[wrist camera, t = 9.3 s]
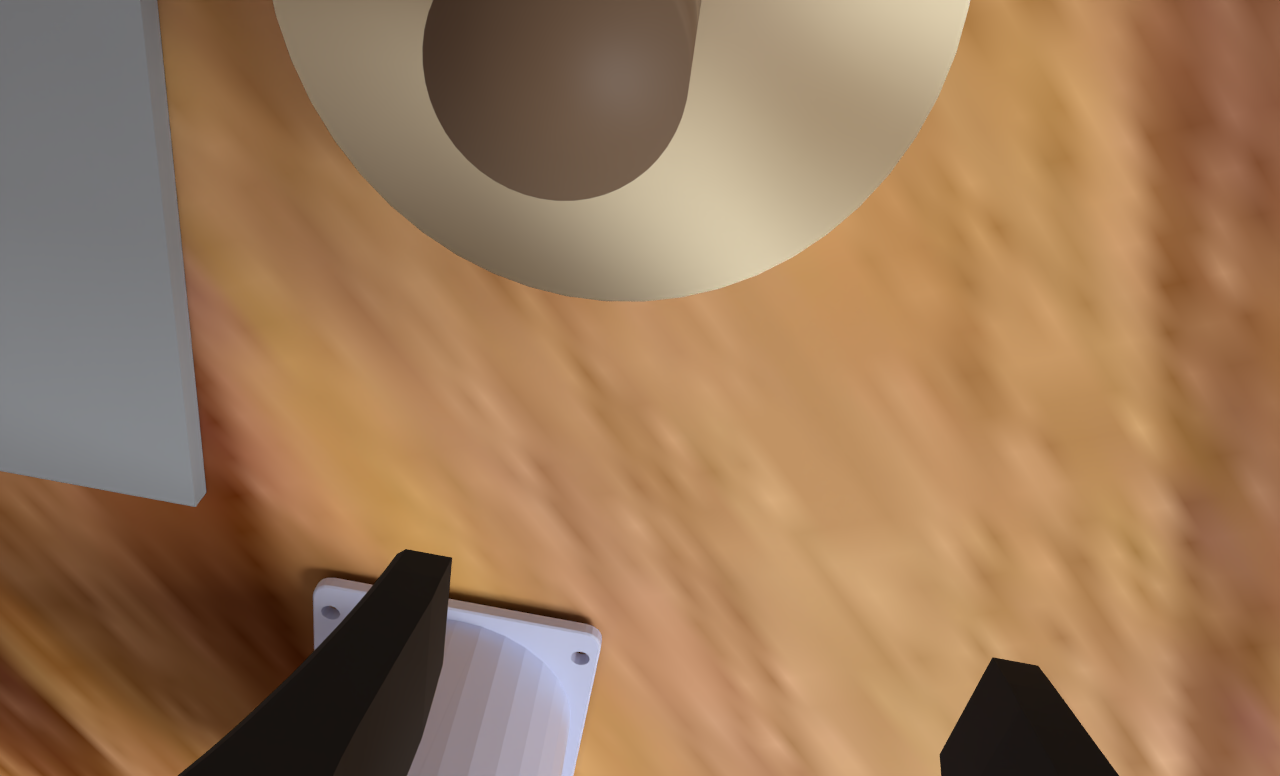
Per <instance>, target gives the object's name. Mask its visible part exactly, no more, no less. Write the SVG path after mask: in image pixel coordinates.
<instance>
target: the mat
mask: <svg viewBox="0 0 1280 776" xmlns="http://www.w3.org/2000/svg"><path fill="white" fill-rule="evenodd" d="M0 471H4V472H9V473H14V474H20V475H25V476H31V477H36V478H41V479H47V480H52V481H58V482H63V483H69V484H74V485H79V486H85V487H90V488H96V489H101V490H107V491H112V492H117V493H123V494H128V495H134V496H139V497H144V498H150V499H155V500H161V501H166V502H172V503H177V504H182V505H188V506H193V507H196V506H197V504H198V503H199V502H200V500H201V499H202V498H203V496H204V495H205V494H206V483H205V473H204V463H203V453H202V443H201V433H200V423H199V413H198V403H197V393H196V383H195V373H194V363H193V353H192V343H191V333H190V323H189V313H188V303H187V293H186V283H185V273H184V263H183V253H182V243H181V233H180V223H179V213H178V203H177V193H176V183H175V173H174V163H173V153H172V143H171V133H170V123H169V113H168V103H167V93H166V83H165V73H164V63H163V53H162V43H161V33H160V23H159V13H158V3H157V0H0Z"/></svg>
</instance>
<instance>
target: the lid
mask: <svg viewBox="0 0 1280 776" xmlns="http://www.w3.org/2000/svg"><path fill="white" fill-rule="evenodd" d="M969 4H970V0H273V5H274V9H275V14H276V17H277V20H278V23H279V26H280V29H281V31H282V34H283V37H284V40H285V43H286V46H287V49H288V52H289V55H290V58H291V60H292V63H293V65H294V67H295V69H296V71H297V73H298V75H299V77H300V80H301V82H302V84H303V86H304V88H305V90H306V92H307V95H308V97H309V99H310V101H311V103H312V104H313V106H314V108H315V109H316V111H317V113H318V114H319V116H320V117H321V119H322V121H323V122H324V124H325V126H326V127H327V129H328V131H329V132H330V134H331V135H332V137H333V139H334V140H335V142H336V143H337V144H338V145H339V147H340V148H341V149H342V151H343V152H344V153H345V155H346V156H347V157H348V158H349V160H350V161H351V162H352V164H353V165H354V166H355V168H356V169H357V170H358V171H359V173H360V174H361V175H362V176H363V177H364V178H365V179H366V180H367V181H368V182H369V184H370V185H371V186H372V187H373V188H374V189H375V190H376V191H377V192H378V193H379V194H380V195H381V196H382V197H383V198H384V199H385V200H386V201H387V202H388V203H389V204H390V205H391V206H392V207H393V208H394V209H395V210H397V211H398V212H399V213H400V214H401V215H403V216H404V217H405V218H406V219H407V220H409V221H410V222H411V223H412V224H413V225H415V226H416V227H417V228H418V229H419V230H421V231H422V232H423V233H425V234H426V235H428V236H429V237H431V238H432V239H434V240H435V241H437V242H438V243H440V244H441V245H443V246H444V247H446V248H447V249H449V250H450V251H452V252H453V253H455V254H456V255H458V256H460V257H462V258H464V259H466V260H468V261H470V262H472V263H474V264H476V265H478V266H480V267H482V268H484V269H486V270H488V271H490V272H491V273H494V274H497V275H499V276H502V277H505V278H507V279H510V280H513V281H515V282H518V283H521V284H523V285H526V286H529V287H532V288H536V289H540V290H544V291H548V292H552V293H556V294H560V295H564V296H570V297H578V298H586V299H593V300H601V301H652V300H661V299H671V298H680V297H685V296H690V295H694V294H698V293H703V292H707V291H711V290H716V289H720V288H723V287H725V286H728V285H731V284H734V283H737V282H739V281H742V280H745V279H748V278H750V277H753V276H756V275H758V274H760V273H762V272H764V271H766V270H768V269H770V268H772V267H774V266H776V265H778V264H780V263H782V262H784V261H786V260H788V259H790V258H792V257H794V256H795V255H797V254H798V253H800V252H801V251H803V250H804V249H806V248H807V247H809V246H810V245H812V244H813V243H815V242H816V241H818V240H819V239H821V238H822V237H824V236H825V235H827V234H828V233H829V232H830V231H832V230H833V229H834V228H835V227H836V226H837V225H839V224H840V223H841V222H842V221H843V220H845V219H846V218H847V217H848V216H849V215H850V214H852V213H853V212H854V211H855V210H856V209H857V208H859V207H860V206H861V205H862V203H863V202H864V201H865V200H866V199H867V198H868V197H869V196H870V195H871V194H872V193H873V192H874V190H875V189H876V188H877V187H878V186H879V185H880V184H881V183H882V182H883V181H884V180H885V178H886V177H887V176H888V175H889V174H890V173H891V171H892V170H893V168H894V167H895V166H896V164H897V163H898V162H899V160H900V159H901V157H902V156H903V155H904V153H905V152H906V150H907V149H908V148H909V146H910V145H911V144H912V142H913V141H914V139H915V138H916V136H917V134H918V133H919V131H920V129H921V127H922V125H923V124H924V122H925V120H926V118H927V116H928V114H929V113H930V111H931V109H932V107H933V105H934V104H935V102H936V100H937V98H938V96H939V94H940V91H941V89H942V86H943V84H944V81H945V79H946V77H947V74H948V72H949V69H950V67H951V64H952V62H953V59H954V57H955V54H956V52H957V48H958V44H959V41H960V37H961V33H962V30H963V26H964V22H965V19H966V15H967V12H968V8H969Z"/></svg>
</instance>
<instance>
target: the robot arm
mask: <svg viewBox="0 0 1280 776" xmlns="http://www.w3.org/2000/svg"><path fill="white" fill-rule="evenodd" d="M451 564H452V558H451V557H445V556H440V555H434V554H429V553H424V552H418V551H413V550H407V549H406V550H404V551H402V552H400V553H398V554H397V555H396V556H395V558H394V559H393V560H392V562H391V563H390V564H389V566H388V567H387V568H386V570H385V571H384V572H383V573H382V575H381V576H380V577H379V578H378V580H377V581H376V582H375V583H374V585H372V584H366V583H361V582H355V581H350V580H344V579H339V578H325V579H322V580H321V581H320V582H319V583H318V584H317V586H316V588H315V590H314V593H313V619H314V651H313V653H312V654H311V655H310V656H309V657H308V658H307V659H306V660H305V661H304V662H303V663H302V664H301V665H300V666H299V667H298V668H297V669H296V670H295V671H294V672H293V673H292V674H291V675H290V676H289V677H288V678H287V679H286V680H285V681H284V682H283V683H282V684H281V685H280V686H279V687H278V688H277V689H275V690H274V691H273V692H272V693H271V694H270V695H269V696H268V697H267V698H266V699H265V700H264V701H263V702H262V703H261V704H260V705H259V706H258V707H256V708H255V709H254V710H253V711H252V712H251V713H250V714H249V715H248V716H247V717H246V718H245V719H244V720H243V721H242V722H240V723H239V724H238V725H237V726H236V727H235V728H234V729H233V730H231V731H230V732H229V733H228V734H227V735H226V736H225V737H223V738H222V739H221V740H220V741H219V742H218V743H217V744H215V745H214V746H213V747H212V748H211V749H210V750H208V751H207V752H206V753H205V754H204V755H202V756H201V757H200V758H199V759H198V760H196V761H195V762H194V763H193V764H191V765H190V766H189V767H188V768H187V769H185V770H184V771H183V772H182V773H180V774H179V775H178V776H573V774H574V770H575V765H576V760H577V756H578V751H579V746H580V742H581V737H582V733H583V728H584V723H585V719H586V714H587V709H588V705H589V700H590V695H591V691H592V686H593V681H594V677H595V672H596V667H597V663H598V658H599V653H600V649H601V643H602V635H601V633H600V631H599V630H598V629H597V628H595V627H594V626H591V625H588V624H584V623H579V622H573V621H568V620H563V619H557V618H552V617H546V616H541V615H535V614H530V613H524V612H519V611H513V610H508V609H503V608H497V607H492V606H486V605H481V604H475V603H470V602H464V601H459V600H453V599H449V588H450V576H451ZM330 606H332V607H335V608H336V609H334V608H331V607H330ZM577 652H583V653H586V654H580V653H577ZM940 764H941V776H1119V775H1118V774H1117V772H1116V771H1115V770H1114V768H1113V767H1112V766H1111V764H1110V763H1109V762H1108V760H1107V759H1106V757H1105V756H1104V755H1103V753H1102V752H1101V751H1100V749H1099V748H1098V747H1097V745H1096V744H1095V742H1094V741H1093V740H1092V738H1091V737H1090V736H1089V734H1088V733H1087V732H1086V730H1085V729H1084V727H1083V726H1082V725H1081V723H1080V722H1079V721H1078V719H1077V718H1076V716H1075V715H1074V714H1073V712H1072V711H1071V710H1070V708H1069V707H1068V705H1067V704H1066V703H1065V701H1064V700H1063V699H1062V697H1061V696H1060V694H1059V693H1058V692H1057V690H1056V689H1055V688H1054V686H1053V685H1052V684H1051V682H1050V681H1049V680H1048V678H1047V677H1046V676H1045V674H1044V673H1043V672H1042V670H1041V669H1040V668H1039V667H1038V666H1036V665H1031V664H1025V663H1020V662H1015V661H1009V660H1004V659H998V658H992V660H991V661H990V663H989V665H988V667H987V669H986V671H985V672H984V674H983V676H982V678H981V680H980V682H979V683H978V685H977V687H976V689H975V691H974V693H973V694H972V696H971V698H970V700H969V702H968V704H967V705H966V707H965V709H964V711H963V713H962V715H961V716H960V718H959V720H958V722H957V724H956V726H955V727H954V729H953V731H952V733H951V735H950V737H949V738H948V740H947V742H946V744H945V746H944V748H943V749H942V751H941V753H940Z"/></svg>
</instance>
